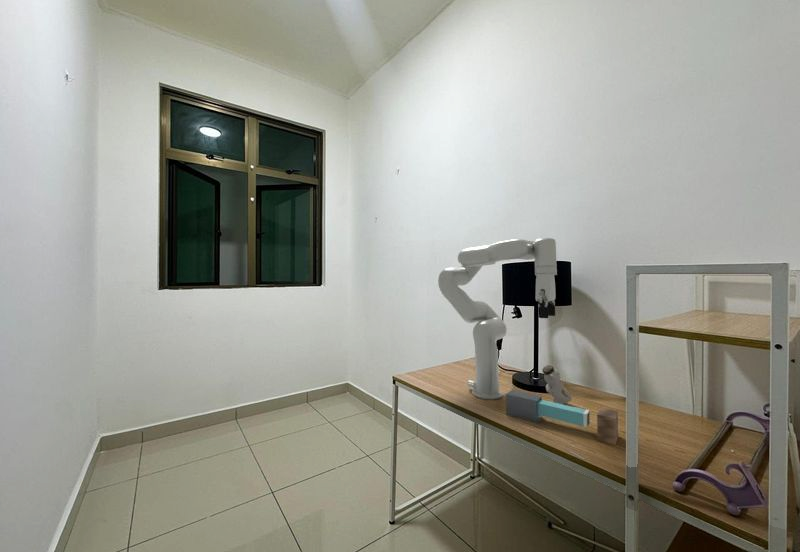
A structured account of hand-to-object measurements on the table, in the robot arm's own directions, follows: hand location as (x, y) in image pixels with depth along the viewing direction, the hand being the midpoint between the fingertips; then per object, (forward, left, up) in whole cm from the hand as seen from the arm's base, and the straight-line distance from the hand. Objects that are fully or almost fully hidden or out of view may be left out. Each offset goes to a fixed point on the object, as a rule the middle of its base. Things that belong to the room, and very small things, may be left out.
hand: (547, 316), depth 120 cm
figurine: (+1, +8, -35) cm, 36 cm away
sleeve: (-5, -11, -35) cm, 37 cm away
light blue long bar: (+3, -11, -33) cm, 34 cm away
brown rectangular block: (+20, -11, -35) cm, 42 cm away
